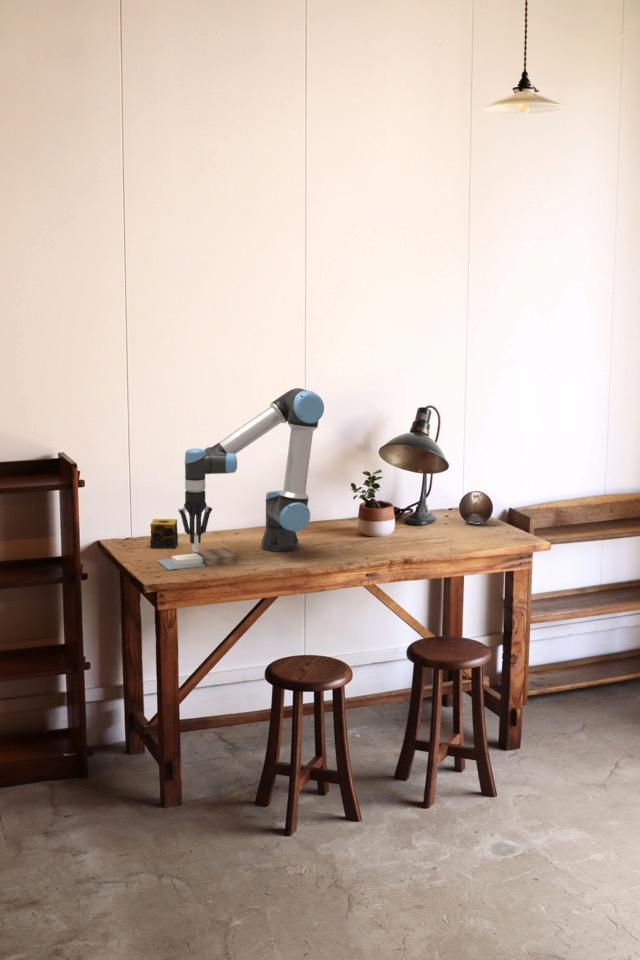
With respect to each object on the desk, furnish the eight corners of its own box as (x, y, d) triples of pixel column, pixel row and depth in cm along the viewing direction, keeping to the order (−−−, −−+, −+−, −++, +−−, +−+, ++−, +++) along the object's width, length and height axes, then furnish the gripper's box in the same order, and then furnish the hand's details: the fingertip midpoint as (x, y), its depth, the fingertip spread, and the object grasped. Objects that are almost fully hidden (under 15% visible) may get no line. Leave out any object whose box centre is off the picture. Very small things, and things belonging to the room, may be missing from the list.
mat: (193, 557, 408) (193, 556, 408) (205, 566, 396) (205, 565, 396) (157, 561, 402) (157, 560, 402) (168, 570, 390) (168, 569, 390)
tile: (196, 558, 405) (196, 553, 405) (202, 563, 399) (202, 557, 399) (171, 561, 401) (171, 555, 401) (177, 565, 395) (177, 560, 395)
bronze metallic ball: (462, 528, 467) (463, 494, 464) (455, 520, 481) (456, 488, 479) (495, 527, 468) (497, 494, 465) (487, 520, 483) (489, 488, 480)
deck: (224, 554, 414) (224, 547, 413) (236, 563, 401) (236, 555, 401) (194, 557, 409) (194, 550, 408) (206, 566, 396) (206, 558, 396)
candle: (175, 548, 422) (175, 524, 420) (150, 548, 422) (149, 524, 420) (178, 542, 432) (178, 518, 430) (153, 542, 432) (153, 518, 430)
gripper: (208, 487, 403) (208, 547, 407) (175, 489, 397) (175, 550, 401) (215, 490, 396) (215, 552, 400) (181, 493, 391) (181, 555, 395)
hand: (195, 551), depth 401 cm, fingers closed
